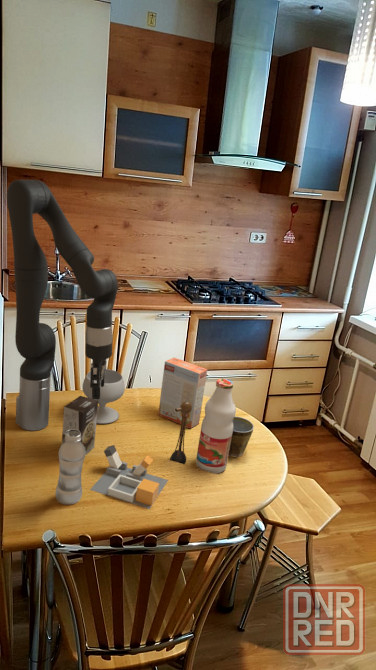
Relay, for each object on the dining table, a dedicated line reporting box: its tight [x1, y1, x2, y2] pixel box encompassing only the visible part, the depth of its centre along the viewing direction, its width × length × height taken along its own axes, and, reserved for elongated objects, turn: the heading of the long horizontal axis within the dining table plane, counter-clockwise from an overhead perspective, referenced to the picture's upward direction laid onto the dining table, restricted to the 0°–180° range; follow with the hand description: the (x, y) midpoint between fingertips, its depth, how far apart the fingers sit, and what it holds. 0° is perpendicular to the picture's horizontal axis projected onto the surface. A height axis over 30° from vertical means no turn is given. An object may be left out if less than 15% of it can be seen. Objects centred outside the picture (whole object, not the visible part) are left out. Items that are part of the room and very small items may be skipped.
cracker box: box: [157, 357, 208, 430], centre depth 178 cm, size 14×6×21 cm, turn 58°
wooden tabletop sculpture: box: [170, 401, 192, 465], centre depth 154 cm, size 6×5×20 cm
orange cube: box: [136, 479, 159, 507], centre depth 136 cm, size 4×4×4 cm
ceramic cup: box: [228, 416, 255, 458], centre depth 166 cm, size 13×10×10 cm
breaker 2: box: [132, 455, 154, 476], centre depth 143 cm, size 2×3×6 cm
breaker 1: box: [103, 444, 122, 469], centre depth 145 cm, size 2×3×6 cm
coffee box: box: [61, 395, 99, 456], centre depth 152 cm, size 9×6×16 cm
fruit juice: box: [195, 378, 237, 474], centre depth 153 cm, size 9×9×28 cm
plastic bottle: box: [55, 429, 86, 506], centre depth 130 cm, size 6×7×20 cm
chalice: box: [81, 368, 126, 425], centre depth 174 cm, size 14×14×15 cm
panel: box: [90, 460, 169, 510], centre depth 141 cm, size 17×14×3 cm
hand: (98, 392), depth 152 cm, fingers open, 8 cm apart
